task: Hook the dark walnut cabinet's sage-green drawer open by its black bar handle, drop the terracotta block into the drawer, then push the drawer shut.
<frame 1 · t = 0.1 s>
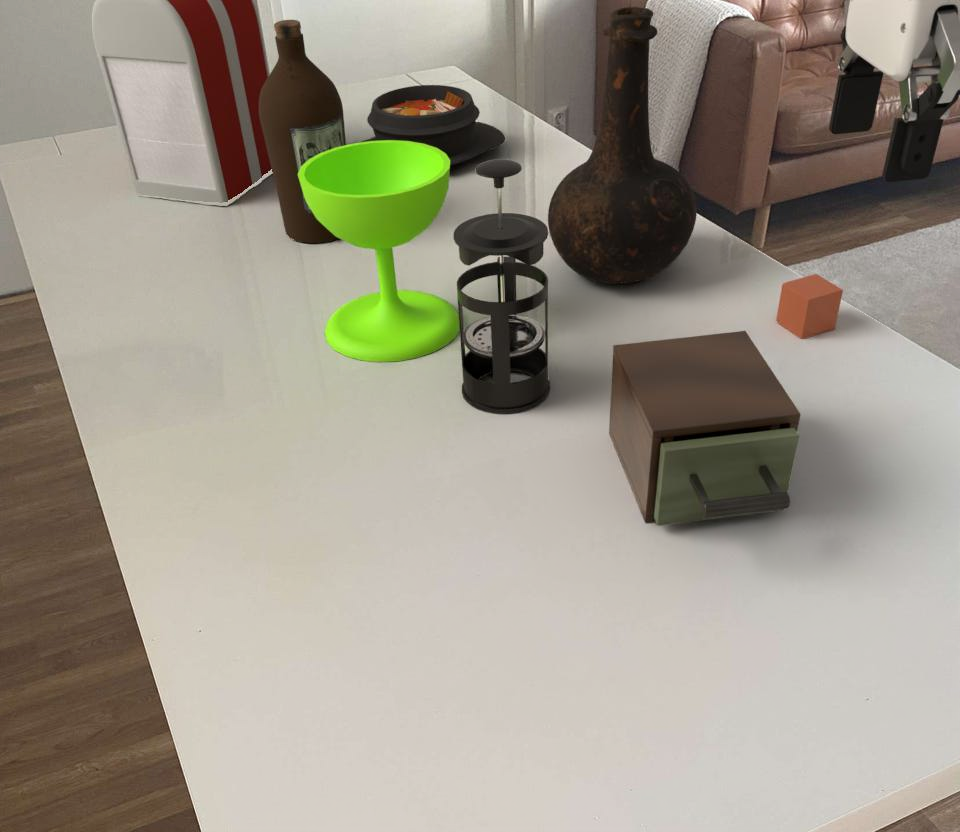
hand: (875, 154, 73), 29 cm above the table, tool pointing down, fingers open, 9 cm apart
french press: (506, 388, 107), on the table
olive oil: (320, 231, 139), on the table
glass bottle: (618, 269, 126), on the table
wineglass: (393, 328, 118), on the table
drawer: (712, 454, 88), point 5 cm above the table, slide at 0.5 cm
block: (805, 325, 113), on the table
tissue box: (212, 180, 154), on the table
casserole: (426, 159, 156), on the table
cabinet: (691, 468, 95), on the table
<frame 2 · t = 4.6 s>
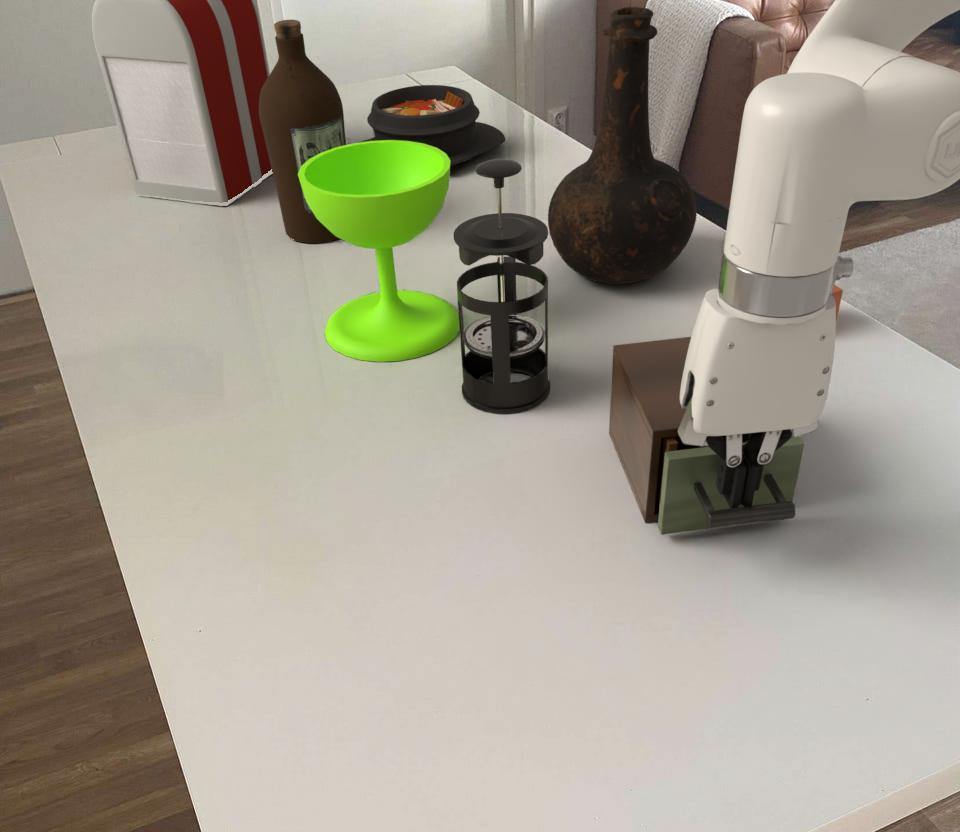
hand: (735, 497, 82), 6 cm above the table, tool pointing down, fingers closed
drawer: (716, 462, 88), point 5 cm above the table, slide at 1.8 cm
everything else where it was.
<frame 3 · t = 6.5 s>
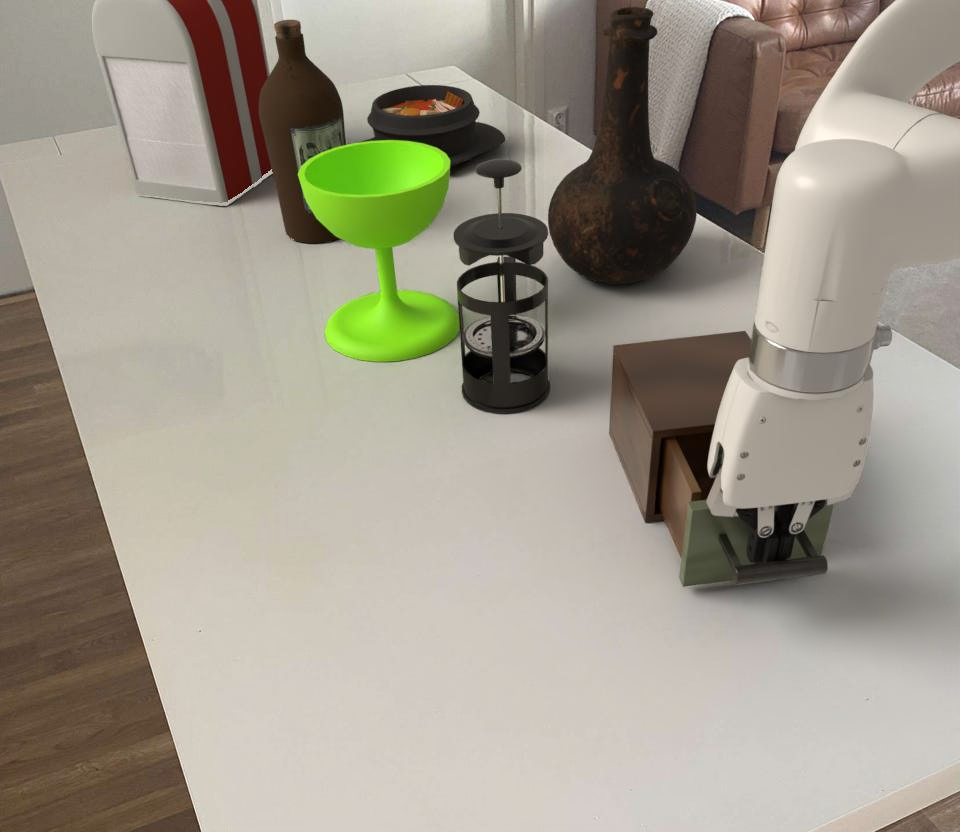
hand: (766, 564, 79), 4 cm above the table, tool pointing down, fingers closed
drawer: (741, 510, 83), point 5 cm above the table, slide at 8.6 cm
everything else where it was.
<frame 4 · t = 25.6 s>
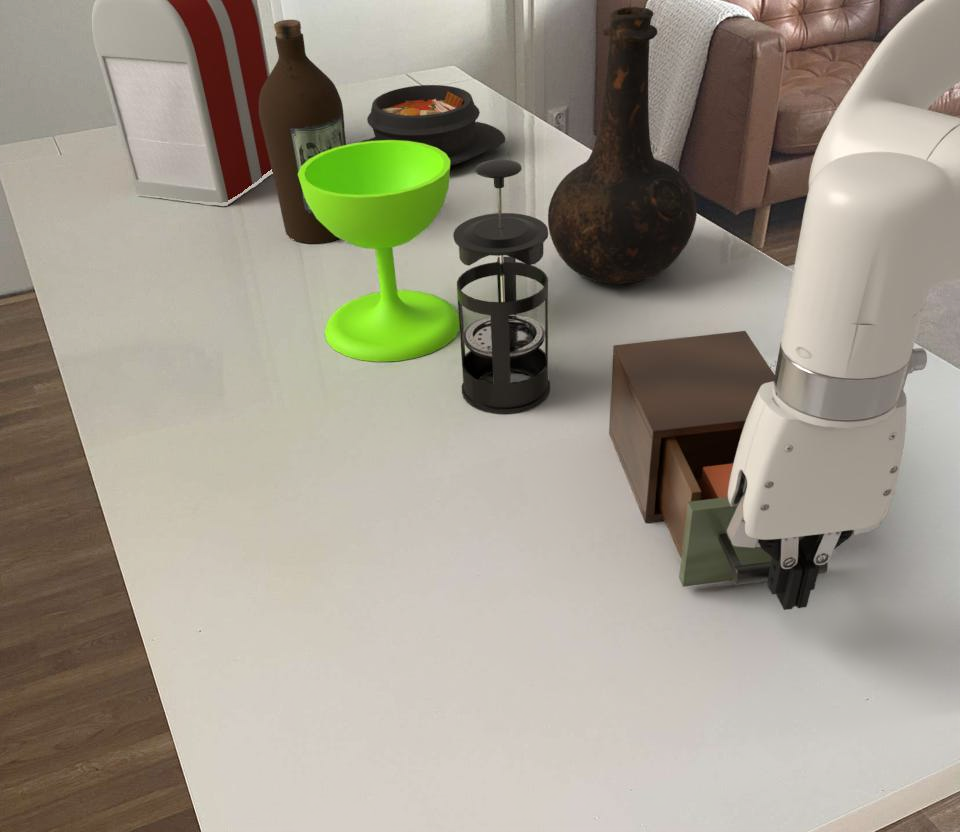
hand: (788, 595, 75), 5 cm above the table, tool pointing down, fingers closed
drawer: (741, 510, 83), point 5 cm above the table, slide at 8.6 cm, touching block, gripper
block: (730, 523, 86), point 2 cm above the table, touching drawer
everything else where it was.
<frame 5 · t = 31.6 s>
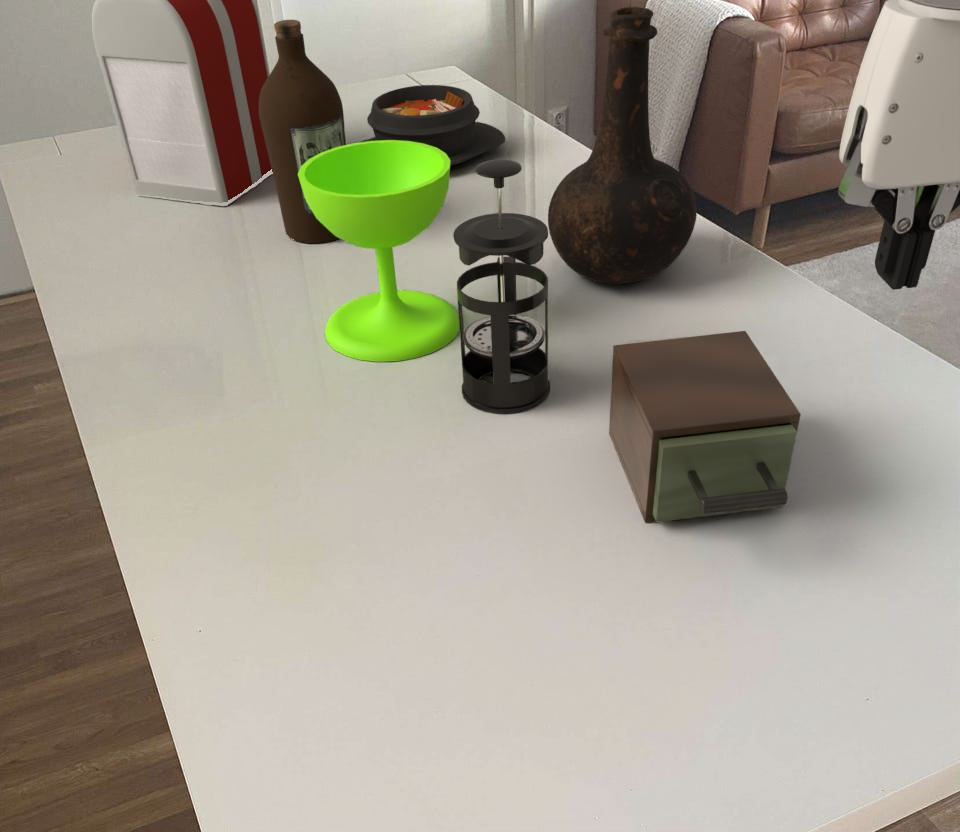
hand: (895, 279, 71), 23 cm above the table, tool pointing down, fingers closed
drawer: (710, 451, 89), point 5 cm above the table, slide at 0.0 cm, touching block
block: (701, 465, 92), point 2 cm above the table, touching drawer
everything else where it was.
at the end: drawer pulled out 8.6 cm at the most during the clip, back to where it started at the end; block inside the target area in the cabinet (2.6 cm from its centre), point 2.0 cm above the cabinet's base; drawer slide at 0.0 cm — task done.
